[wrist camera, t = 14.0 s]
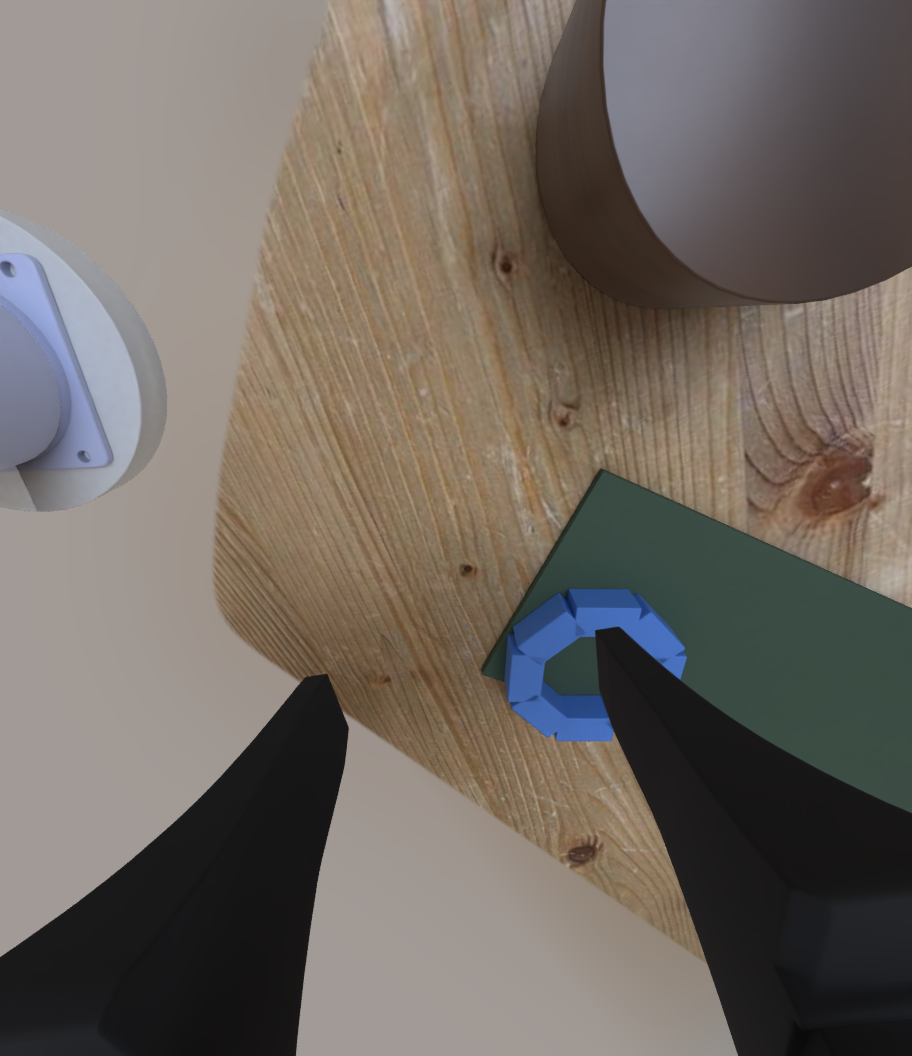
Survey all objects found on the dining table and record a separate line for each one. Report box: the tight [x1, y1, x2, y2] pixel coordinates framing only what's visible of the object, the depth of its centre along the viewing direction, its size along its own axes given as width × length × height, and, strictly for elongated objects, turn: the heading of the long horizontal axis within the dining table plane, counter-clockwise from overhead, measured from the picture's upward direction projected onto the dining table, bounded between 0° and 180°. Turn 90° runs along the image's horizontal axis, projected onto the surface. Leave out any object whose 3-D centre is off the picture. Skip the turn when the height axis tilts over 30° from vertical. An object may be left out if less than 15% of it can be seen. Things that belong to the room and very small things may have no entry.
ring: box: [504, 589, 687, 741], centre depth 23 cm, size 8×8×2 cm
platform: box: [536, 0, 912, 309], centre depth 12 cm, size 10×10×7 cm
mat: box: [481, 469, 912, 813], centre depth 25 cm, size 40×12×1 cm, turn 66°
